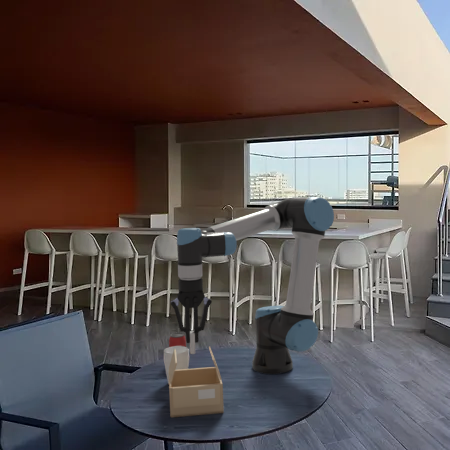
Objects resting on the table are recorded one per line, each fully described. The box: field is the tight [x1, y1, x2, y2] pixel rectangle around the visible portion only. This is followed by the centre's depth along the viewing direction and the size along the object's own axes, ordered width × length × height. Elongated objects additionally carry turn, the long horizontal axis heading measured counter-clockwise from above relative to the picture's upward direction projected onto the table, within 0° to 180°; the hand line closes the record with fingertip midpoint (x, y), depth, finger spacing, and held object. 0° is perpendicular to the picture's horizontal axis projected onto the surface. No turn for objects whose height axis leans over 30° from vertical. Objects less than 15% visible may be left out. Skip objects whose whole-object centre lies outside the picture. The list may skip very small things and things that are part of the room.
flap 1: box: [169, 349, 177, 384], centre depth 158 cm, size 1×14×6 cm, turn 8°
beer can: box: [168, 332, 187, 347], centre depth 198 cm, size 7×7×12 cm
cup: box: [163, 346, 190, 385], centre depth 179 cm, size 9×9×12 cm
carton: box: [168, 366, 225, 419], centre depth 160 cm, size 16×16×9 cm
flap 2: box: [208, 346, 222, 380], centre depth 160 cm, size 1×14×6 cm, turn 7°
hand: (192, 352), depth 159 cm, fingers closed
